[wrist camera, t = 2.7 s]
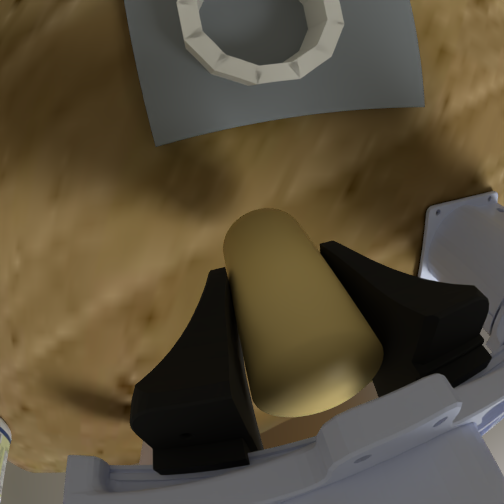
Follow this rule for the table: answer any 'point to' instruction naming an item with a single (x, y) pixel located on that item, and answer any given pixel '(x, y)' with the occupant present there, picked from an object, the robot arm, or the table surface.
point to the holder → (270, 60)
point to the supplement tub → (3, 449)
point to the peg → (295, 319)
